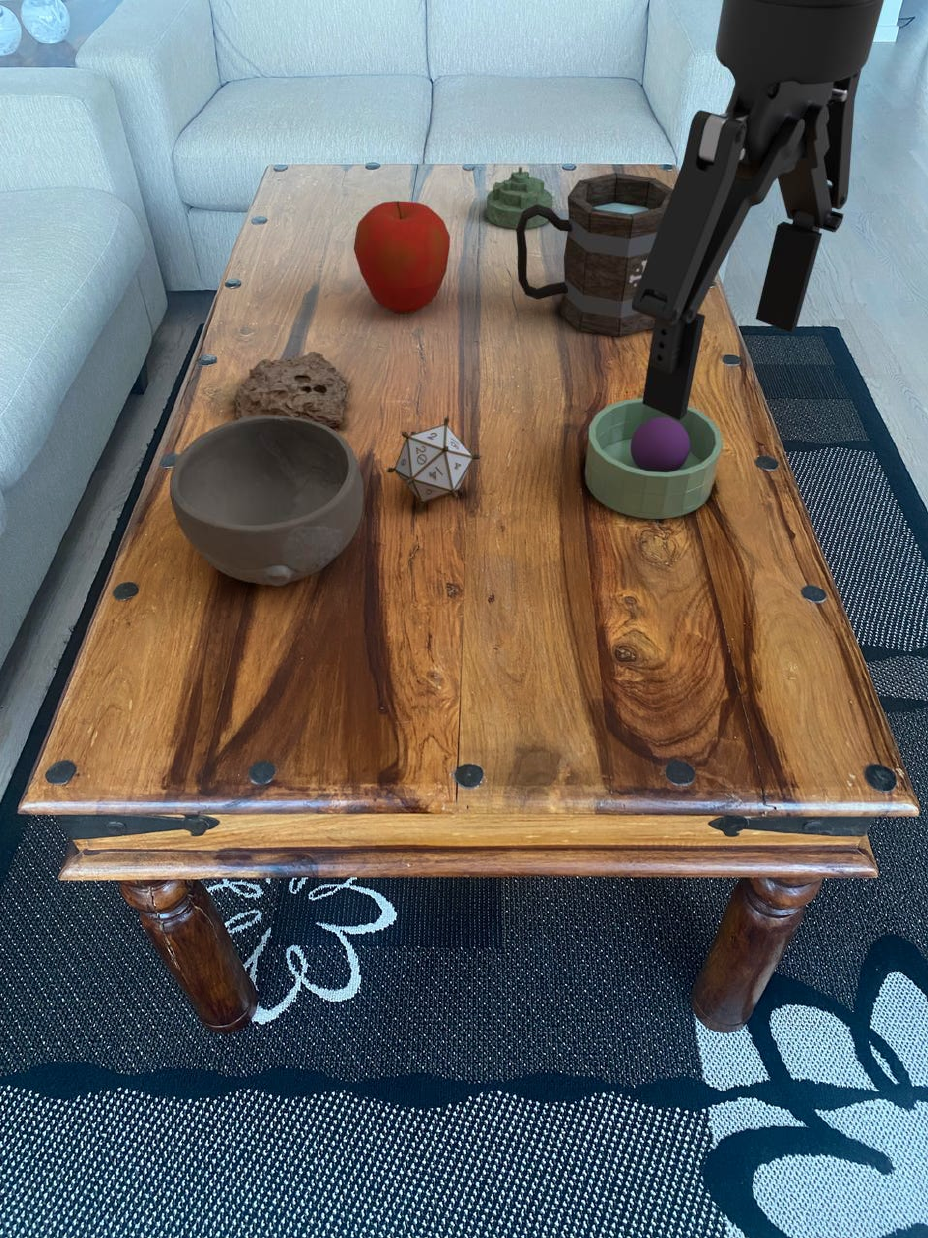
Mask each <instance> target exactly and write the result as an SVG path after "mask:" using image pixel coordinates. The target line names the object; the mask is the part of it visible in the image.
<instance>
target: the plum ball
mask: <svg viewBox="0 0 928 1238" xmlns="http://www.w3.org/2000/svg"><path fill="white" fill-rule="evenodd" d="M689 451H690V440H689V436H688V434H687V432H686V430H685V429H684V427H683V426H682V425H681V424H680V423H678V422H677V421H675V420H673V419H670V418H666V417H657V418H652V419H650V420H648V421H646V422H644V423H643V424H642V425H640V426H639V428H638V429H637V430H636V431H635V433H634V435H633V438H632V441H631V455H632V458H633V460H634V462H635V464H636V465H637V466H638V467H639V468H640V469H641V470H644V471H652V472H672V471H677V470H678V469H679V468H680V467H681V466H682V465H683V464H684V463H685V461H686V459H687V457H688V455H689Z"/></svg>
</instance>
